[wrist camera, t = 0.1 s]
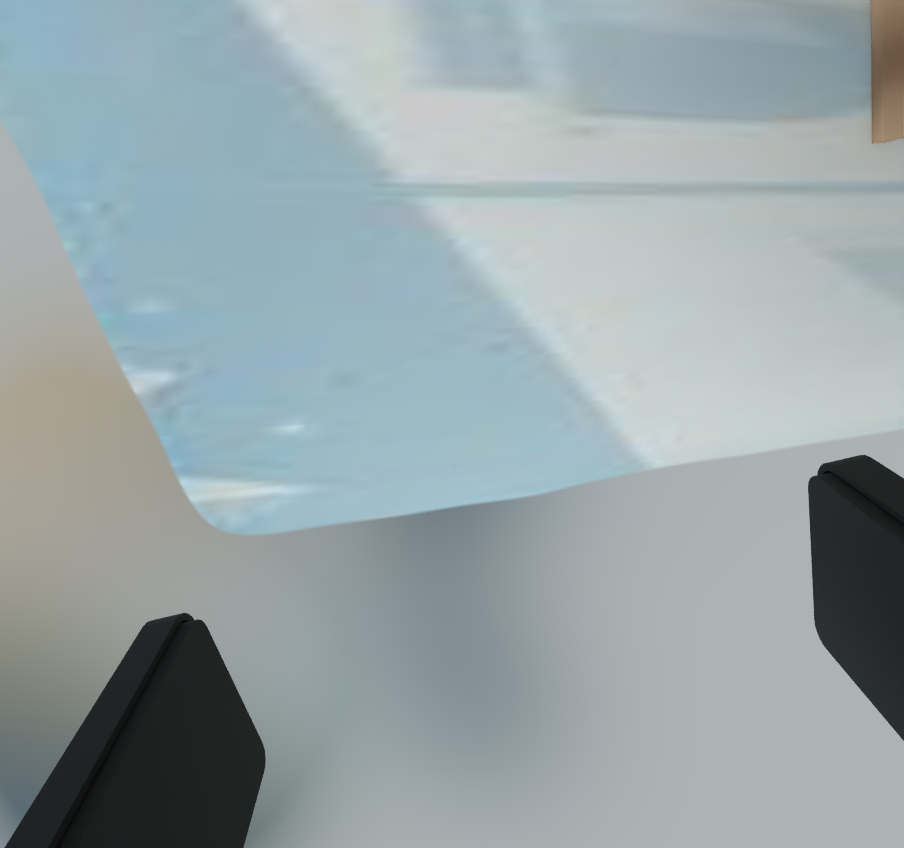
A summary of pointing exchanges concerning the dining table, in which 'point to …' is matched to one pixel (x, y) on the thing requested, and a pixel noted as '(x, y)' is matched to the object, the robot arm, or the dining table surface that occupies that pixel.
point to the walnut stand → (887, 70)
